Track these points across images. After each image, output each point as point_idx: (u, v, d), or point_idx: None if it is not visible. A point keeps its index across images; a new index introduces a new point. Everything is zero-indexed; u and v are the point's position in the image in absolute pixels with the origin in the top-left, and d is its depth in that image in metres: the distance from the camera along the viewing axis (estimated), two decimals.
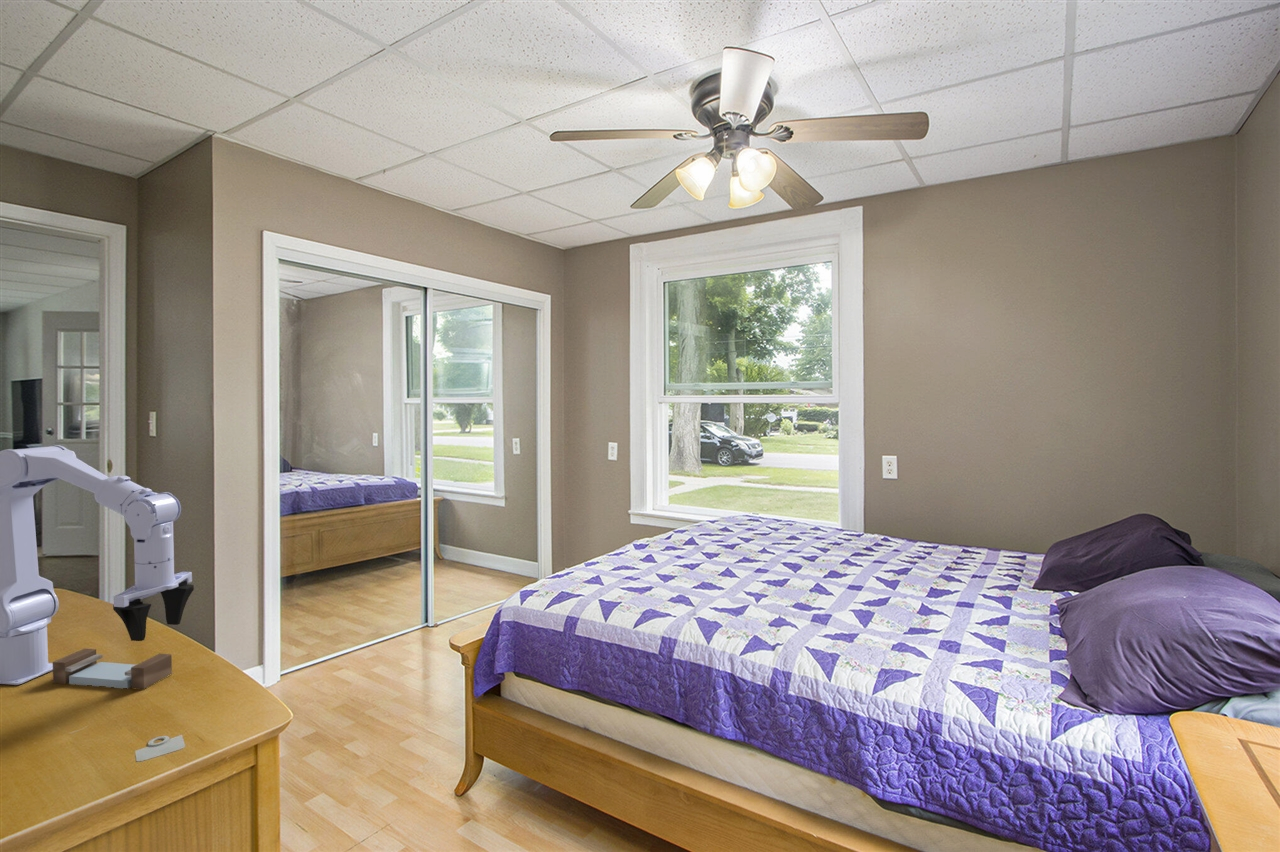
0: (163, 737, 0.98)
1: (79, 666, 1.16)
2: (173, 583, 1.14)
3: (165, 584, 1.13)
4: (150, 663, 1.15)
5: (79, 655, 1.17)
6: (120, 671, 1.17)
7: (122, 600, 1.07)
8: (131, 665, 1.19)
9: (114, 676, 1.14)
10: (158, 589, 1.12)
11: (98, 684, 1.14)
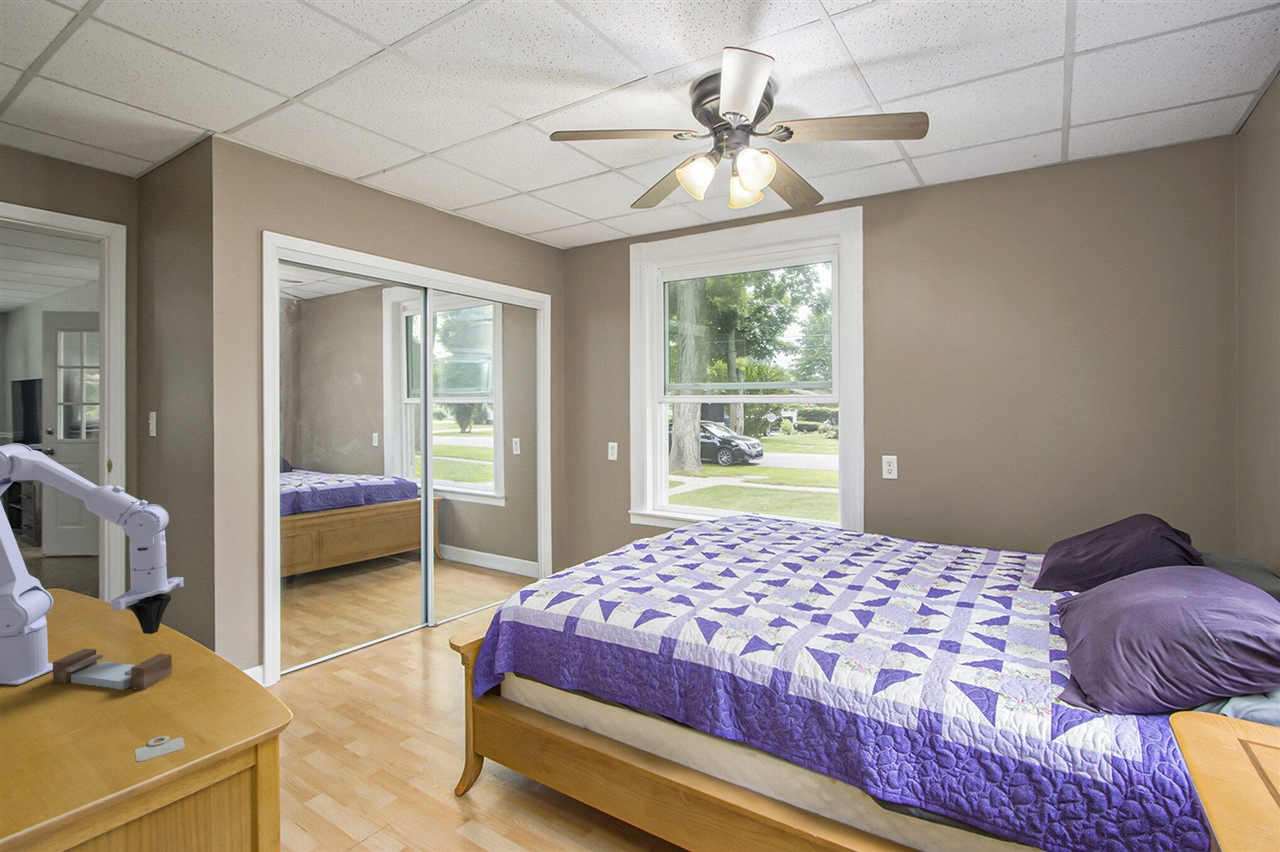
0: (163, 737, 0.98)
1: (79, 666, 1.16)
2: (166, 588, 1.24)
3: (158, 589, 1.23)
4: (150, 663, 1.15)
5: (79, 655, 1.17)
6: (120, 671, 1.17)
7: (118, 604, 1.17)
8: (132, 665, 1.19)
9: (112, 677, 1.14)
10: (152, 593, 1.22)
11: (97, 684, 1.14)
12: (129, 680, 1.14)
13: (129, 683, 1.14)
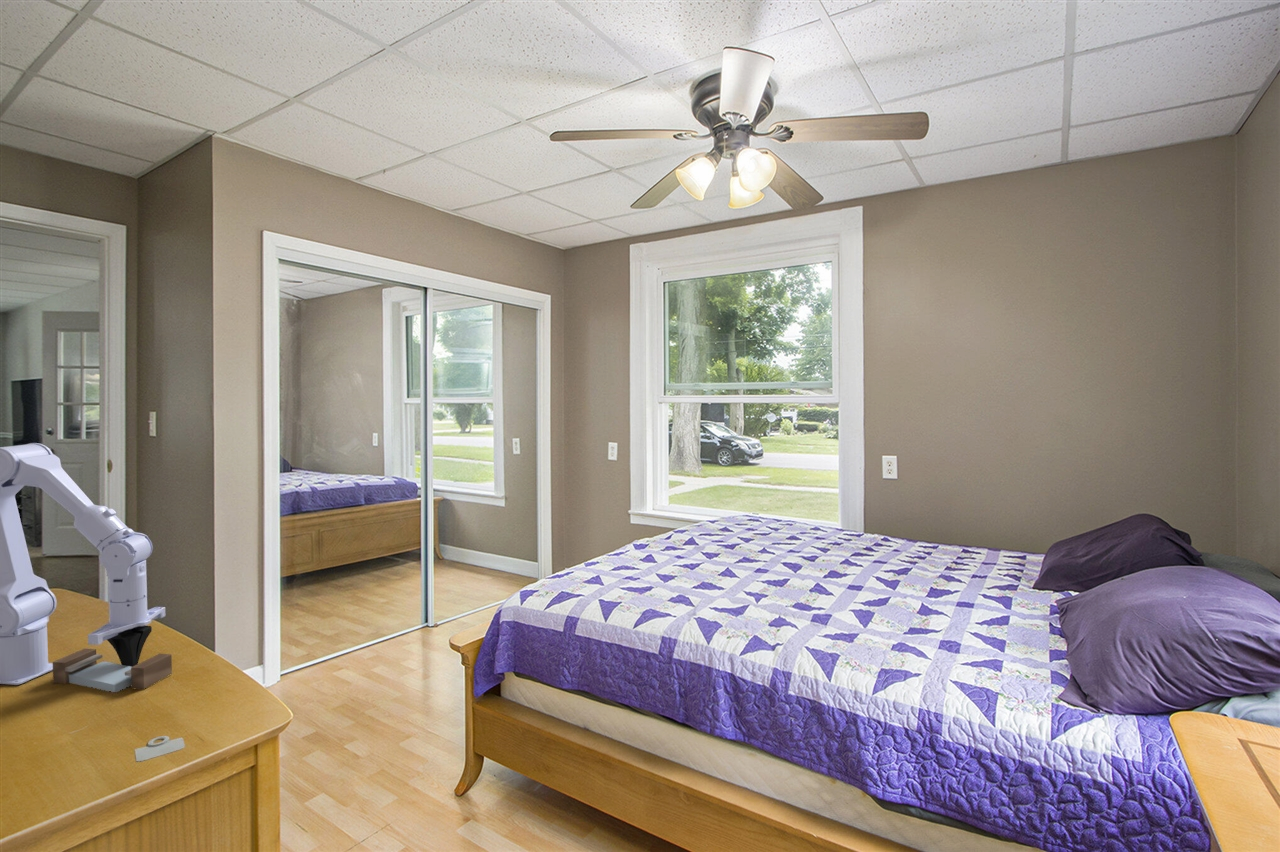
0: (163, 737, 0.98)
1: (79, 666, 1.16)
2: (146, 620, 1.20)
3: (138, 621, 1.19)
4: (150, 663, 1.15)
5: (79, 655, 1.17)
6: (115, 673, 1.16)
7: (95, 638, 1.12)
8: (128, 667, 1.18)
9: (106, 679, 1.13)
10: (131, 626, 1.17)
11: (91, 685, 1.13)
12: (121, 683, 1.13)
13: (121, 686, 1.13)
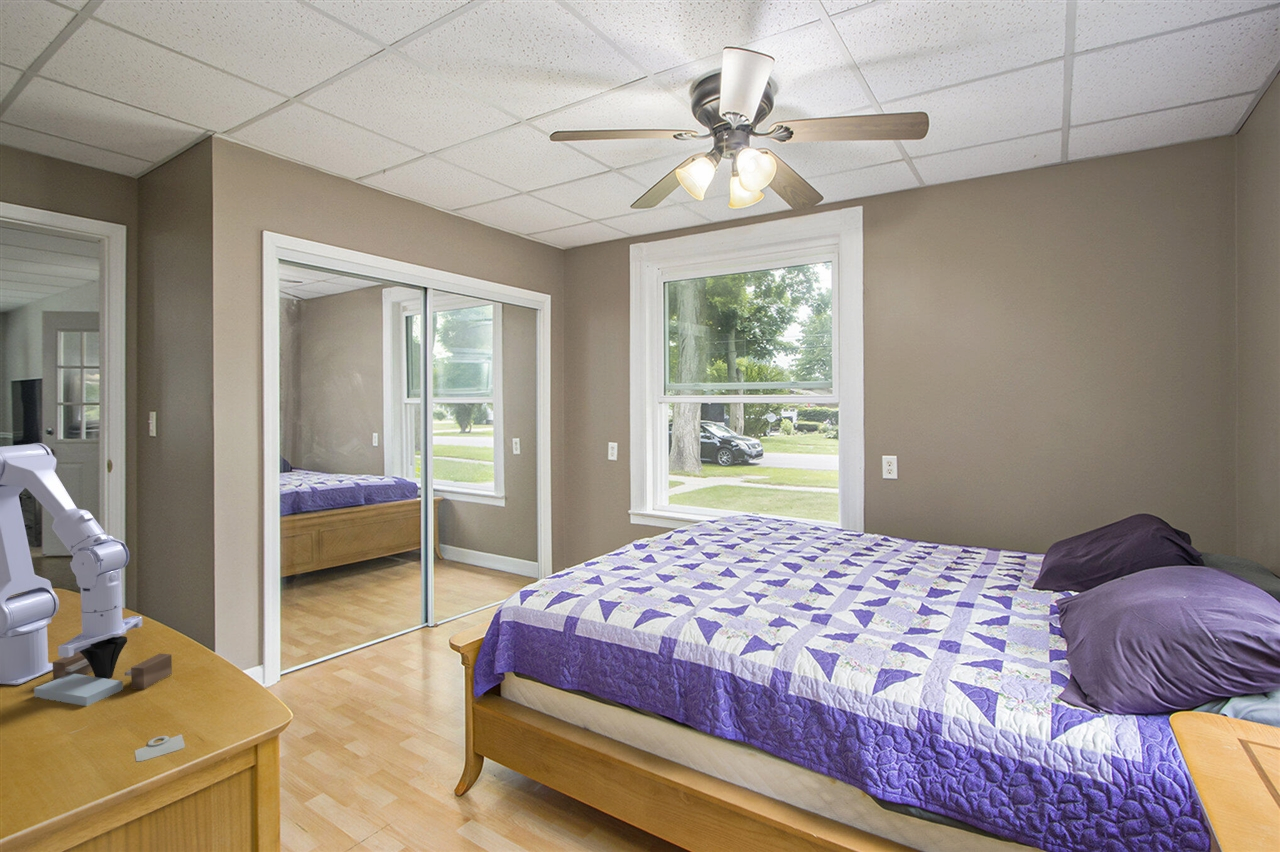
0: (163, 737, 0.98)
1: (79, 666, 1.16)
2: (121, 630, 1.14)
3: (112, 632, 1.13)
4: (150, 663, 1.15)
5: (79, 655, 1.17)
6: (85, 685, 1.11)
7: (66, 650, 1.07)
8: (99, 678, 1.13)
9: (76, 691, 1.09)
10: (105, 637, 1.12)
11: (60, 698, 1.08)
12: (93, 695, 1.08)
13: (93, 698, 1.08)
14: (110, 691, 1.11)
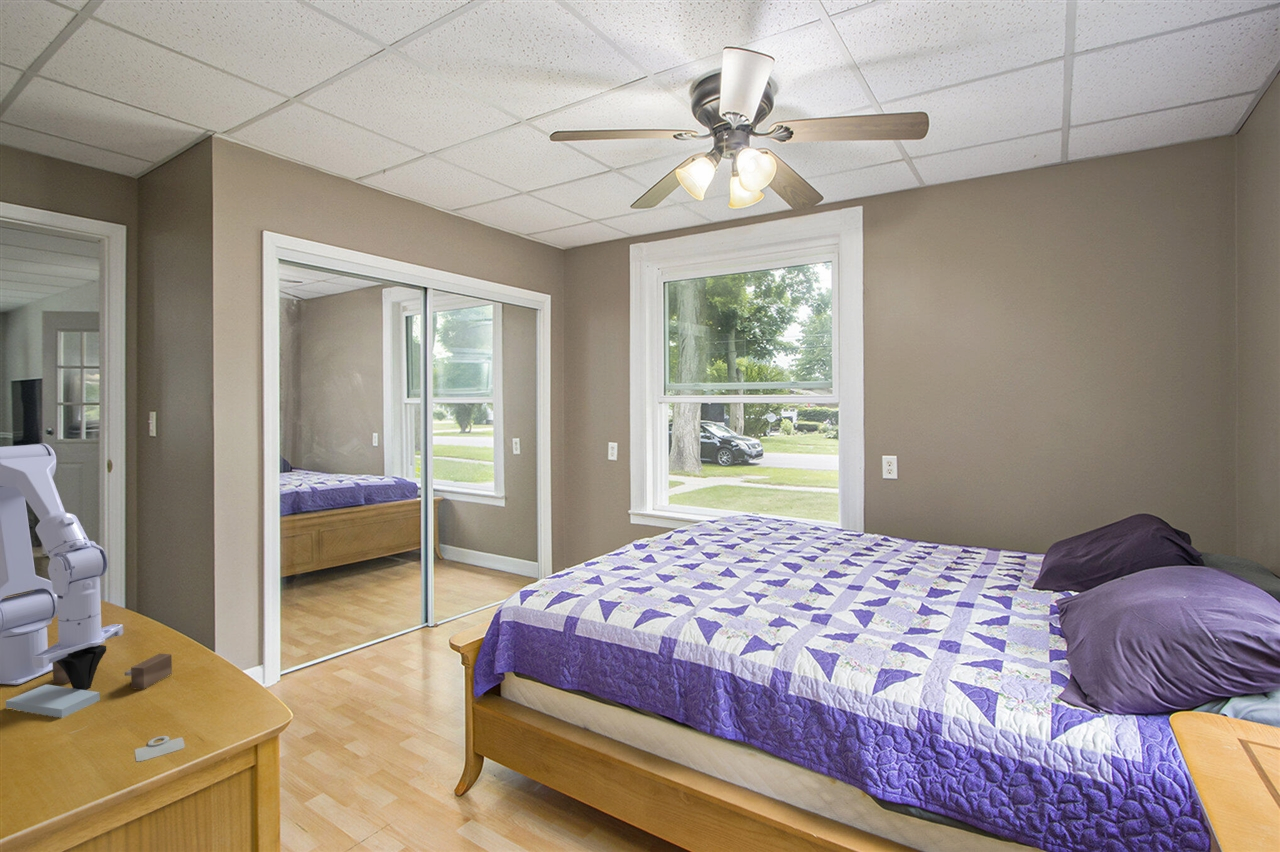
0: (163, 737, 0.98)
1: None
2: (99, 639, 1.10)
3: (90, 641, 1.09)
4: (150, 663, 1.15)
5: None
6: (60, 697, 1.07)
7: (41, 661, 1.03)
8: (74, 690, 1.09)
9: (51, 703, 1.05)
10: (82, 646, 1.08)
11: (34, 711, 1.04)
12: (69, 707, 1.04)
13: (69, 710, 1.04)
14: (86, 703, 1.07)
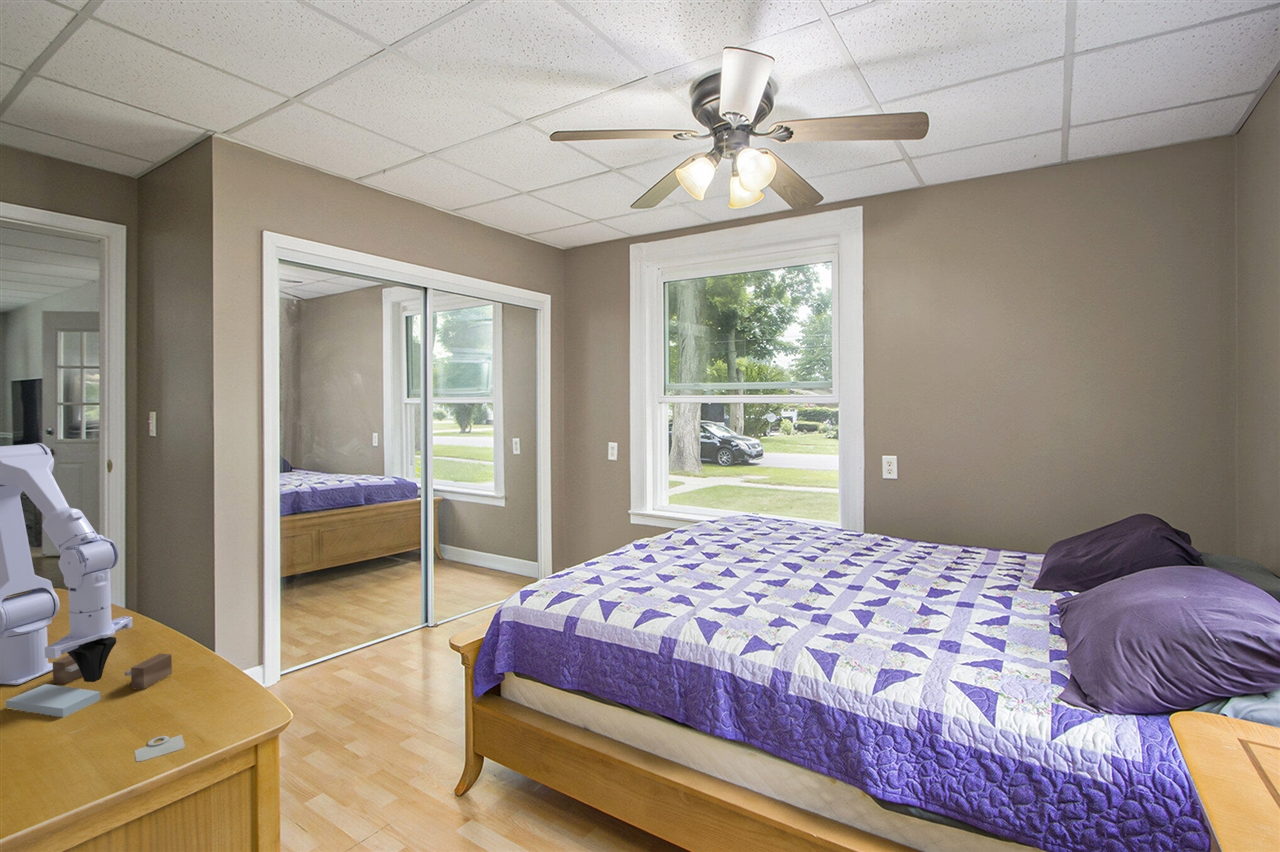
0: (163, 737, 0.98)
1: None
2: (109, 631, 1.12)
3: (101, 632, 1.11)
4: (150, 663, 1.15)
5: None
6: (61, 696, 1.07)
7: (53, 651, 1.05)
8: (75, 689, 1.09)
9: (52, 703, 1.05)
10: (93, 638, 1.10)
11: (34, 711, 1.04)
12: (70, 706, 1.04)
13: (70, 710, 1.04)
14: (87, 702, 1.07)
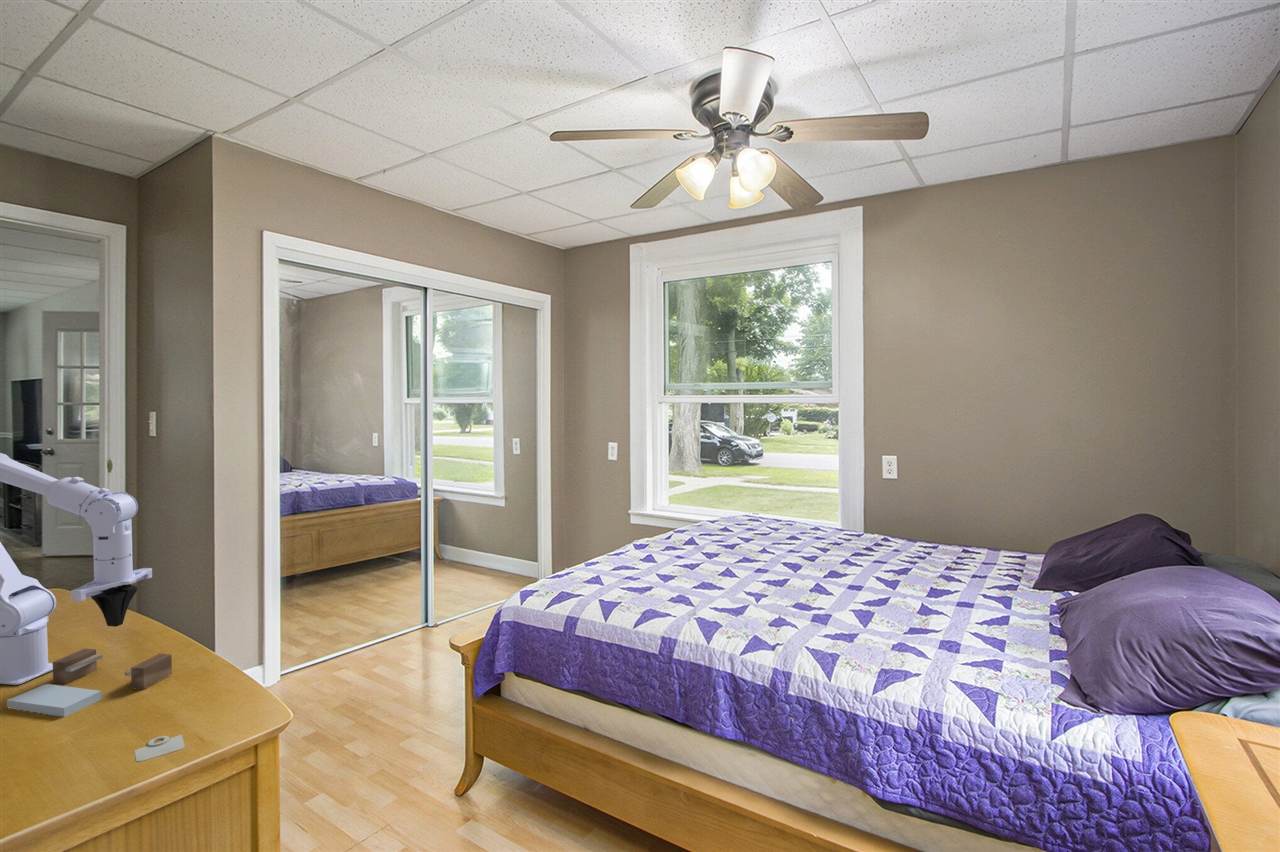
0: (163, 737, 0.98)
1: (79, 666, 1.16)
2: (131, 579, 1.19)
3: (123, 579, 1.18)
4: (150, 663, 1.15)
5: (79, 655, 1.17)
6: (62, 696, 1.07)
7: (78, 594, 1.12)
8: (76, 689, 1.10)
9: (53, 702, 1.05)
10: (115, 584, 1.17)
11: (35, 710, 1.04)
12: (71, 706, 1.04)
13: (71, 709, 1.04)
14: (88, 701, 1.07)
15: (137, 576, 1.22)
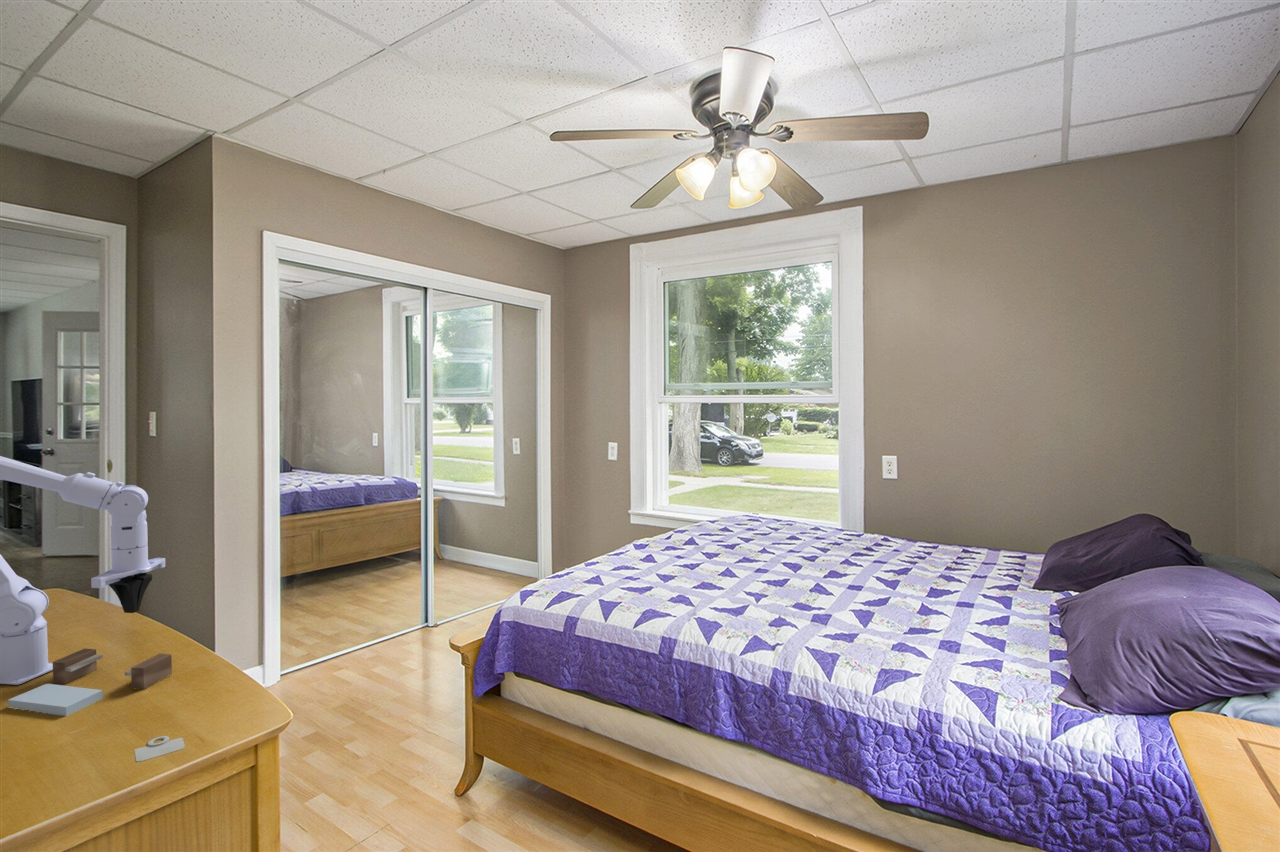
0: (163, 737, 0.98)
1: (79, 666, 1.16)
2: (147, 567, 1.25)
3: (139, 568, 1.24)
4: (150, 663, 1.15)
5: (79, 655, 1.17)
6: (63, 695, 1.07)
7: (98, 582, 1.18)
8: (77, 688, 1.10)
9: (54, 702, 1.05)
10: (132, 572, 1.23)
11: (37, 710, 1.05)
12: (73, 705, 1.05)
13: (73, 708, 1.05)
14: (90, 700, 1.07)
15: (152, 565, 1.28)
